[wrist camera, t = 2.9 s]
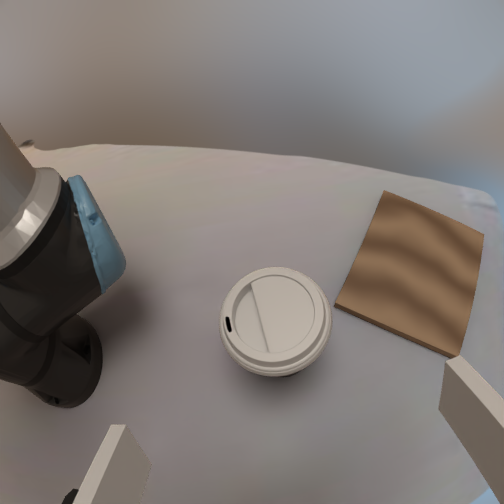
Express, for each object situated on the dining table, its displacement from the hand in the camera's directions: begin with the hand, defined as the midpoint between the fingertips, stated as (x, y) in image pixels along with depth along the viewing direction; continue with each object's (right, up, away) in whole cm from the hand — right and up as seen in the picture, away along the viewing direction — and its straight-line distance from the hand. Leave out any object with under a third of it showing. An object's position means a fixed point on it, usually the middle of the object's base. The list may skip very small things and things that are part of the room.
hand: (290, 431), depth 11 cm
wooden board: (+22, +4, +29) cm, 36 cm away
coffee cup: (+2, -5, +27) cm, 27 cm away
